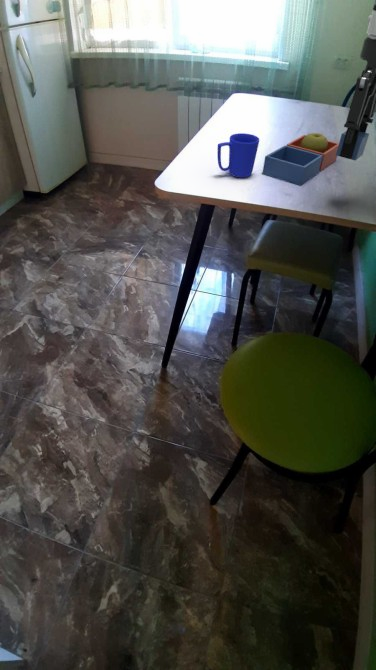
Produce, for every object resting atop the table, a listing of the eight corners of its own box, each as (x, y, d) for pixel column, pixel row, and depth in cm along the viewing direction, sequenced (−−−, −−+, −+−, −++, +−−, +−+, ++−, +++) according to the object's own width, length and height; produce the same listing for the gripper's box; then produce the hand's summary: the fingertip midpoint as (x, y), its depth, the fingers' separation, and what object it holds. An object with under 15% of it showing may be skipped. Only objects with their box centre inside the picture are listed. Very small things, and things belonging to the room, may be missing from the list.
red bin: (335, 160, 131) (340, 143, 128) (320, 171, 124) (324, 154, 120) (300, 151, 136) (304, 134, 133) (283, 161, 129) (286, 144, 125)
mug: (209, 171, 120) (212, 135, 114) (245, 167, 124) (250, 132, 117) (221, 183, 115) (225, 145, 108) (259, 177, 119) (265, 141, 112)
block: (362, 155, 101) (369, 133, 98) (355, 160, 98) (362, 138, 95) (343, 150, 103) (349, 128, 100) (335, 155, 100) (341, 133, 97)
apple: (326, 163, 127) (333, 139, 122) (301, 163, 127) (306, 138, 122) (319, 154, 133) (325, 131, 128) (295, 154, 132) (300, 130, 127)
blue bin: (318, 172, 123) (323, 155, 120) (300, 185, 116) (304, 167, 112) (281, 162, 128) (285, 145, 125) (262, 173, 121) (265, 156, 117)
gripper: (379, 31, 91) (347, 141, 107) (351, 39, 81) (320, 160, 97) (414, 35, 88) (376, 148, 104) (389, 44, 78) (351, 168, 93)
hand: (349, 153), depth 100 cm, fingers closed on block, 5 cm apart
